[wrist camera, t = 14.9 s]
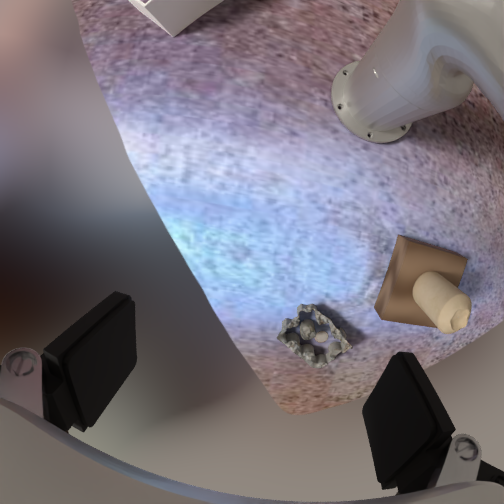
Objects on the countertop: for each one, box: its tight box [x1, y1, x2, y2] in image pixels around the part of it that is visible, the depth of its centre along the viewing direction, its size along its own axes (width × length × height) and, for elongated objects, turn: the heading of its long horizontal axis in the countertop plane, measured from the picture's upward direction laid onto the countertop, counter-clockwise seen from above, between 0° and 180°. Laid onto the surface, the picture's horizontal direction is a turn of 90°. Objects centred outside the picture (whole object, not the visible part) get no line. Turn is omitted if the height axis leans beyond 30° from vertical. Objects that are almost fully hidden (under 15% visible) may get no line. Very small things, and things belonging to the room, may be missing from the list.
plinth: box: [374, 235, 468, 328], centre depth 36 cm, size 12×12×4 cm
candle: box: [413, 271, 471, 334], centre depth 29 cm, size 6×6×10 cm
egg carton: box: [277, 304, 353, 368], centre depth 40 cm, size 11×8×4 cm
